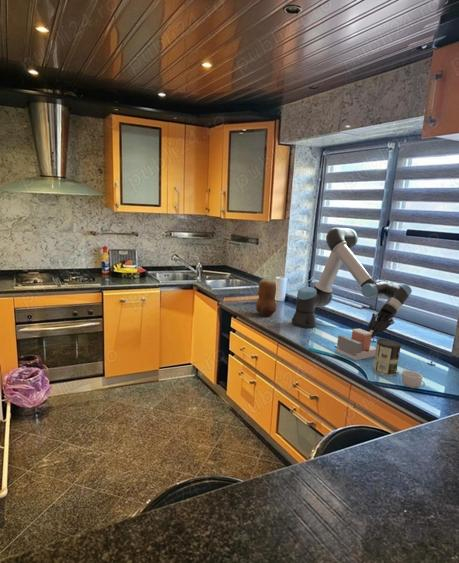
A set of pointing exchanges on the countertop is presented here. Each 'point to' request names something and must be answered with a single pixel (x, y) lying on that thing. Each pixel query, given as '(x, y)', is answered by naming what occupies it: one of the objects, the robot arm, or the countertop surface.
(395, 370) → the coffee can
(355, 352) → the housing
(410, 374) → the teacup
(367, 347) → the orange rectangular block
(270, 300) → the brown curvy cylinder
